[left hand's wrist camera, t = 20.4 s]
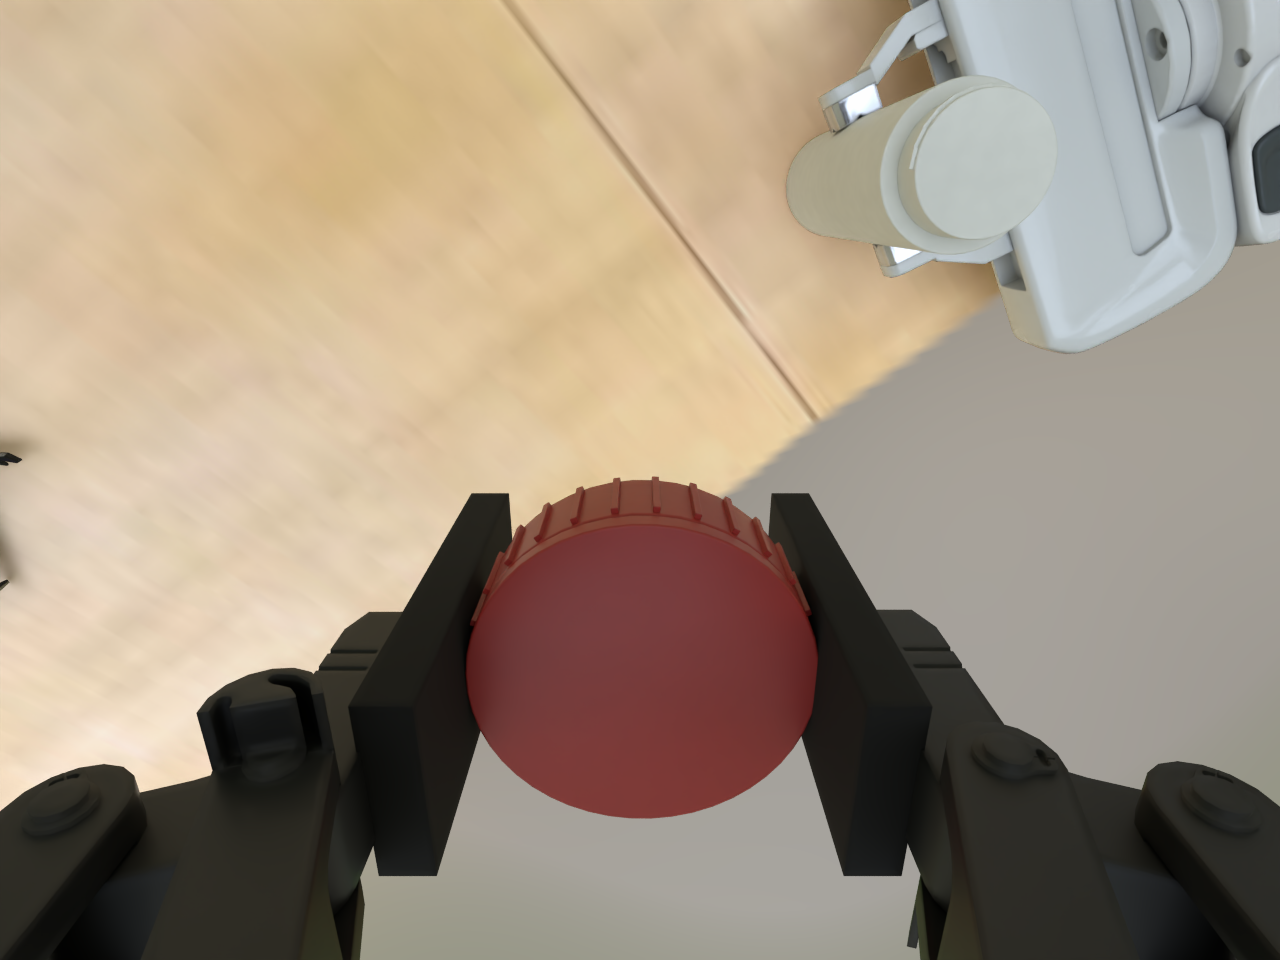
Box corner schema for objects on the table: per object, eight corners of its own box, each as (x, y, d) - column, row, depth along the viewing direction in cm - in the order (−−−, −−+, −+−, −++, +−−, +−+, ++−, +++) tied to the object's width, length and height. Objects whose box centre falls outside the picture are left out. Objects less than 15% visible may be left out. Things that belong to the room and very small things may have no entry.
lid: (418, 607, 12) (384, 669, 11) (661, 406, 11) (665, 441, 9) (627, 792, 14) (625, 872, 12) (862, 635, 12) (895, 701, 11)
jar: (894, 136, 34) (1102, 75, 19) (872, 241, 36) (1046, 266, 20) (795, 125, 34) (920, 54, 19) (778, 231, 36) (879, 248, 20)
